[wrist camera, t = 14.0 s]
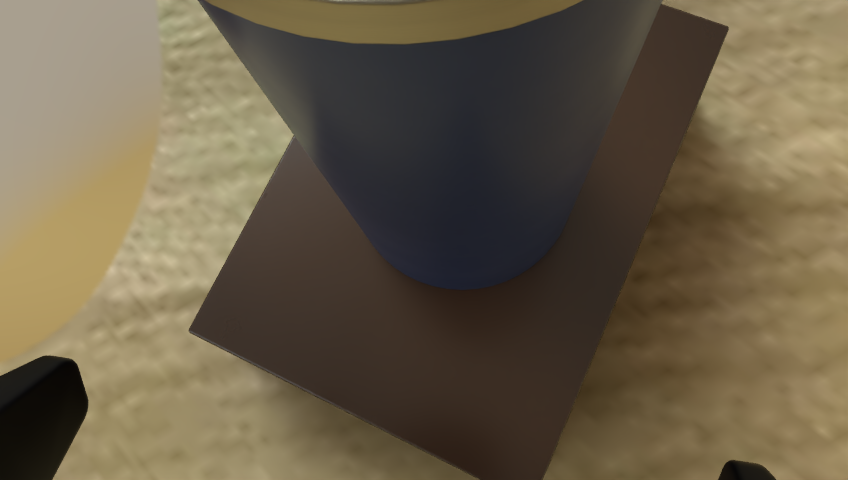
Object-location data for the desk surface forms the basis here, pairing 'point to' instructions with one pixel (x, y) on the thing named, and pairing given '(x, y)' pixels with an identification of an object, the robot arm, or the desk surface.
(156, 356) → the desk surface
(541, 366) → the rack
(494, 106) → the blue cylinder
